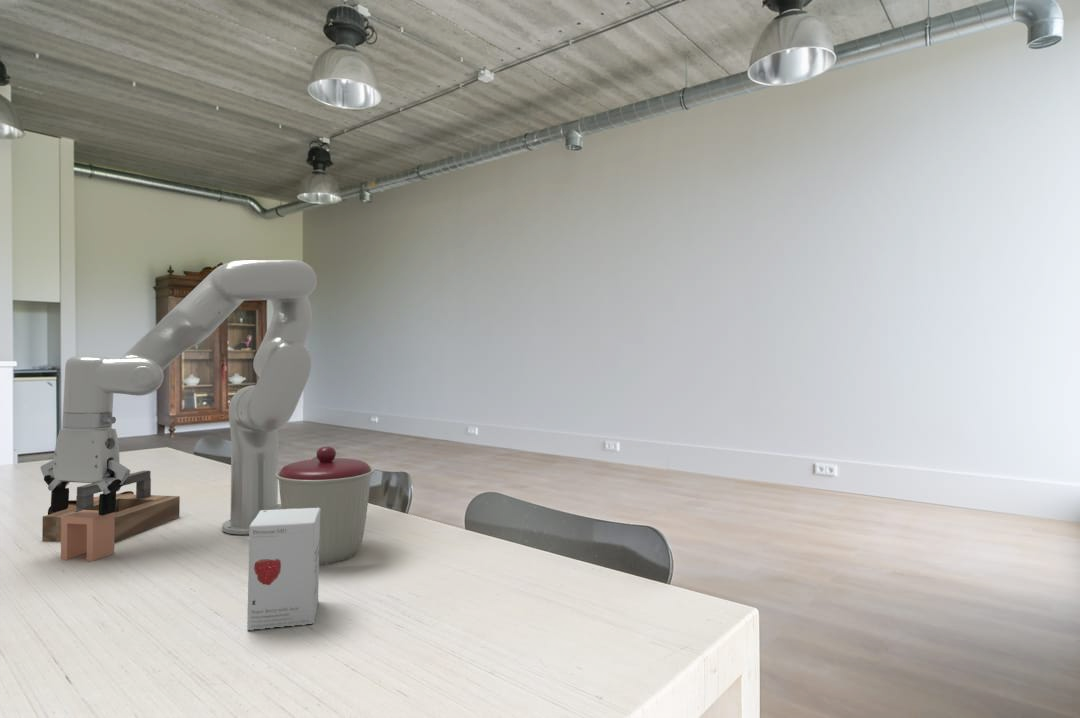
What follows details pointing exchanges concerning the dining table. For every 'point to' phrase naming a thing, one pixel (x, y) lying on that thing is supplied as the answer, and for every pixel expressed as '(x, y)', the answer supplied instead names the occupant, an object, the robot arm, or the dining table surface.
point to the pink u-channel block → (87, 534)
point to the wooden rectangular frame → (121, 509)
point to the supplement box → (283, 568)
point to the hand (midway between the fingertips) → (83, 512)
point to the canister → (330, 499)
